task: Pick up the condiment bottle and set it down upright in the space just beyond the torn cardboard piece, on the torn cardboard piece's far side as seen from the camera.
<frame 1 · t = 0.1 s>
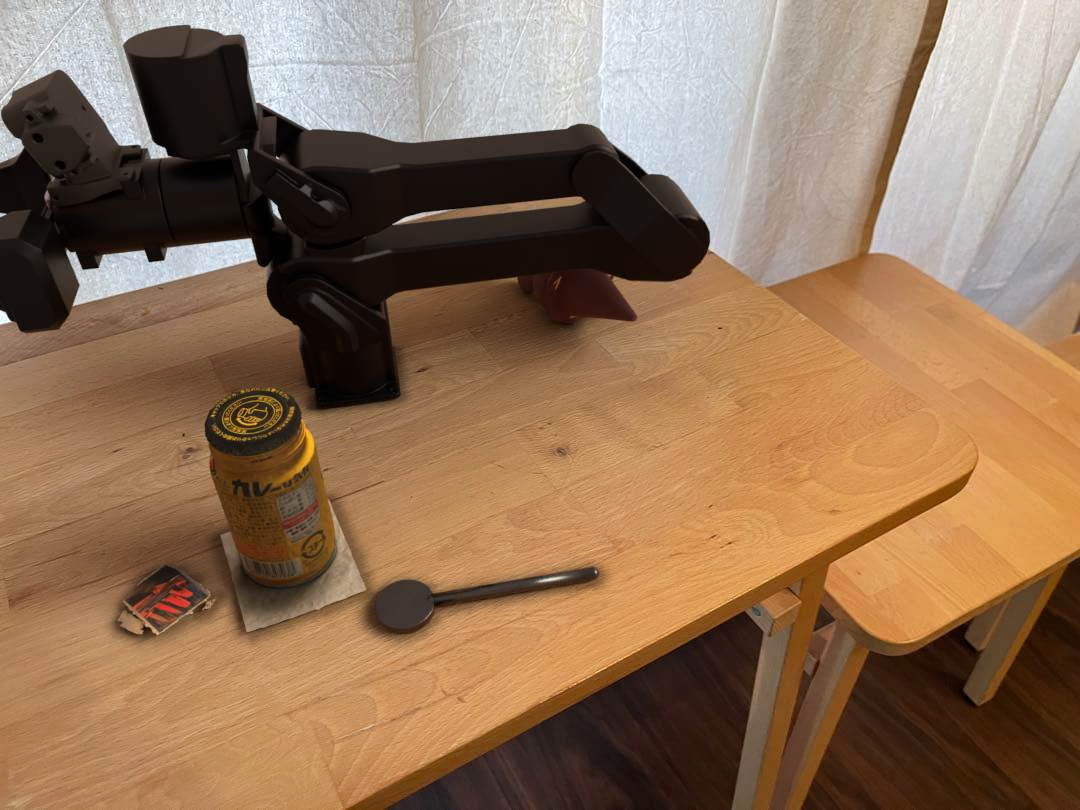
condiment: (292, 565, 56), on the table
torn cardboard piece: (163, 606, 54), on the table
steel spoon: (490, 594, 54), on the table
brown gnome figurine: (574, 317, 77), on the table
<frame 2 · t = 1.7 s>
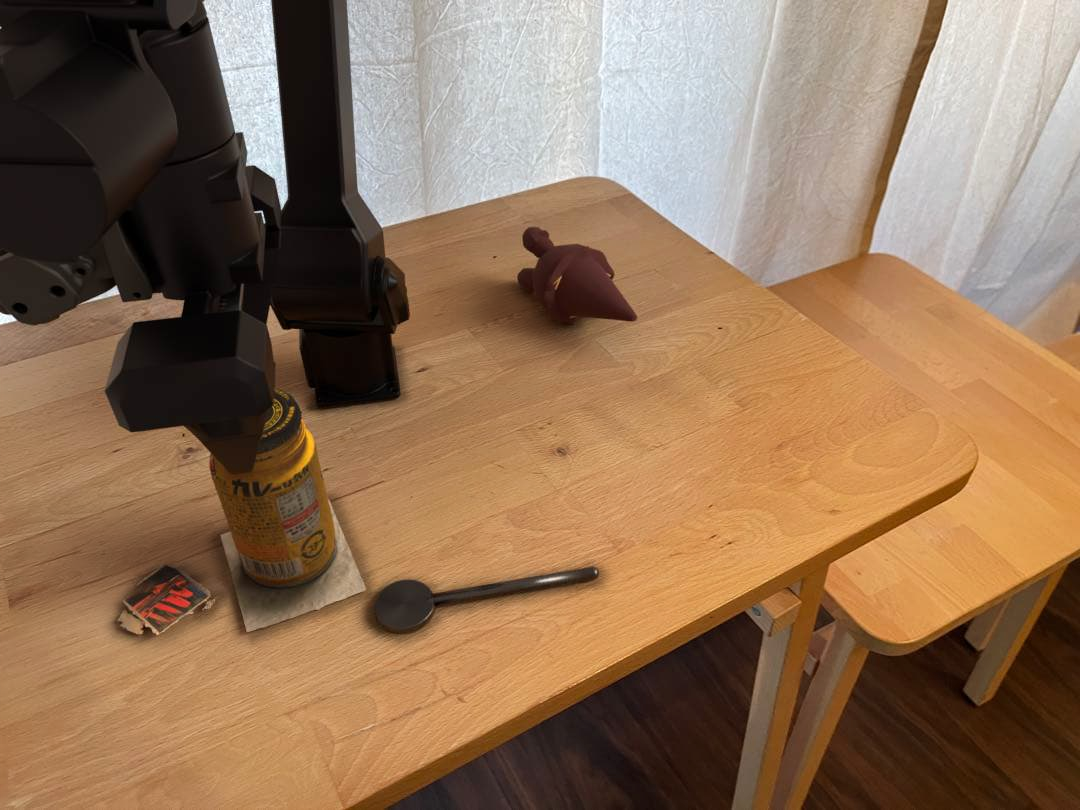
hand: (246, 412, 48), 13 cm above the table, tool pointing down, fingers open, 9 cm apart
nothing on the table moved.
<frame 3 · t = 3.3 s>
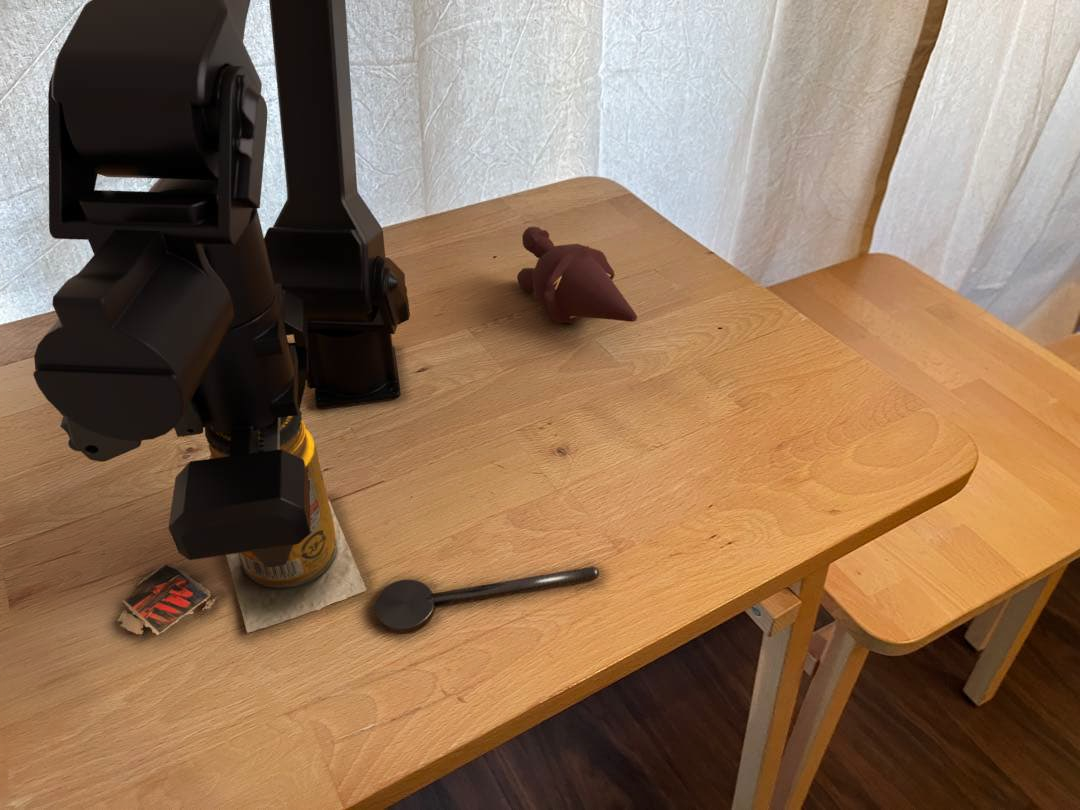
hand: (277, 510, 54), 4 cm above the table, tool pointing down, fingers closed on condiment, 8 cm apart
condiment: (292, 566, 56), on the table, touching gripper
everything else where it was.
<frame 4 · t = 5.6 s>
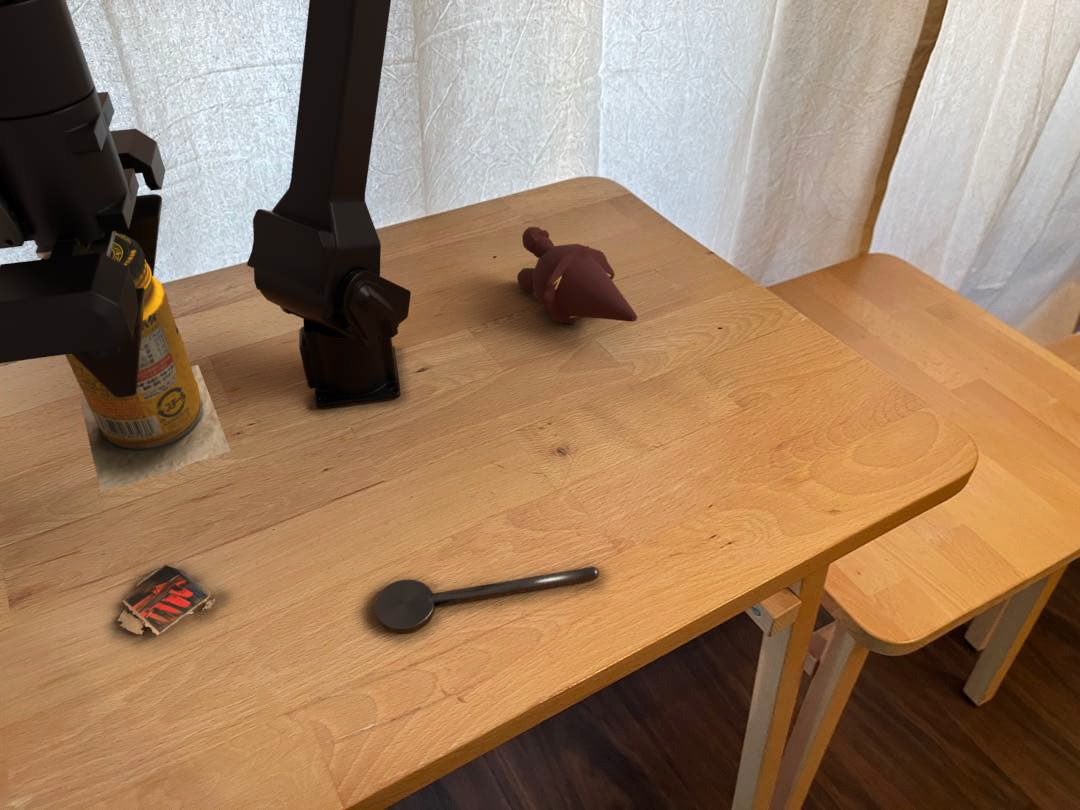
hand: (132, 360, 51), 13 cm above the table, tool pointing down, fingers closed on condiment, 6 cm apart
condiment: (154, 428, 54), point 8 cm above the table, touching gripper
everything else where it was.
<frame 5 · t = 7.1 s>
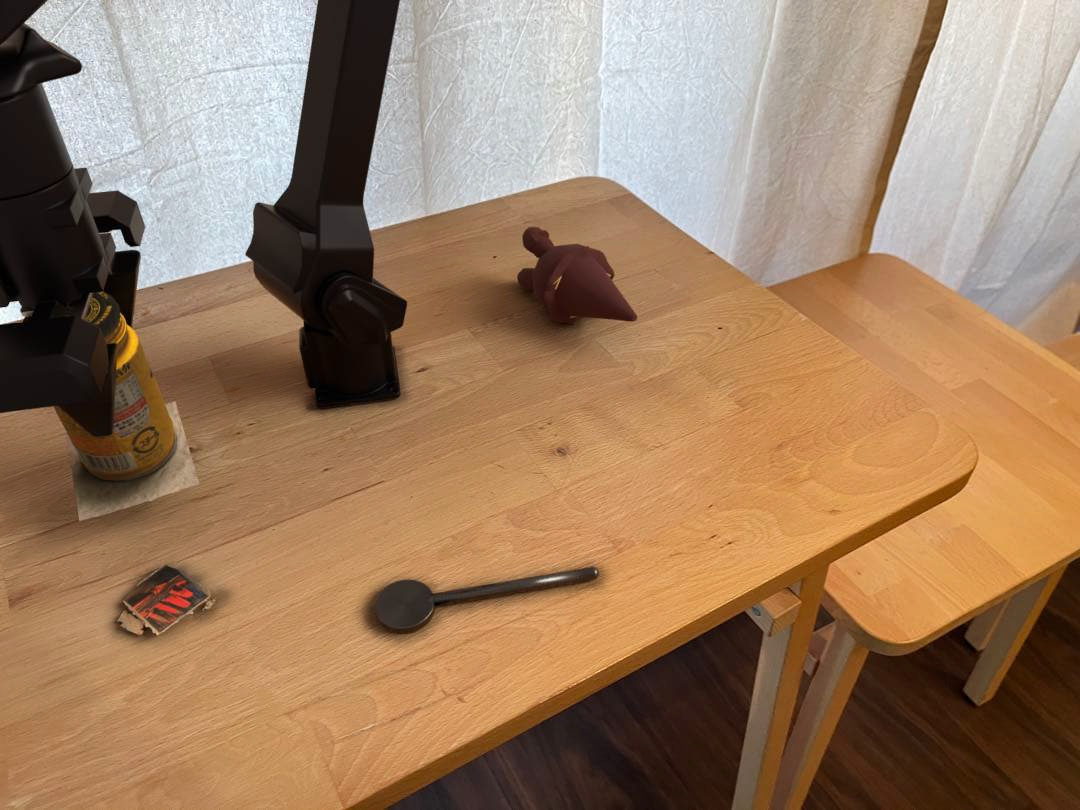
hand: (111, 401, 56), 8 cm above the table, tool pointing down, fingers closed on condiment, 6 cm apart
condiment: (132, 461, 59), point 3 cm above the table, touching gripper
everything else where it was.
when the fingers open (5 cm above the table, at t = 8.2 s): condiment stays where it is, on the table.
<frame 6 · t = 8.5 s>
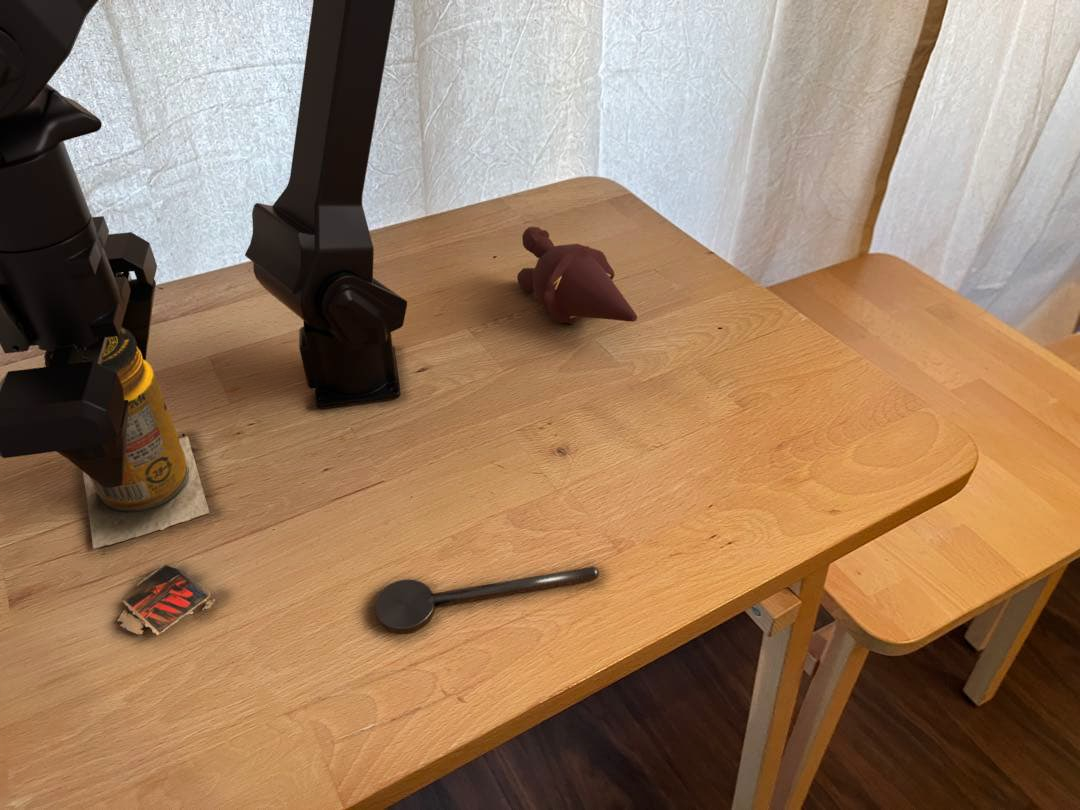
hand: (124, 436, 58), 5 cm above the table, tool pointing down, fingers open, 9 cm apart
condiment: (145, 493, 61), on the table
everything else where it was.
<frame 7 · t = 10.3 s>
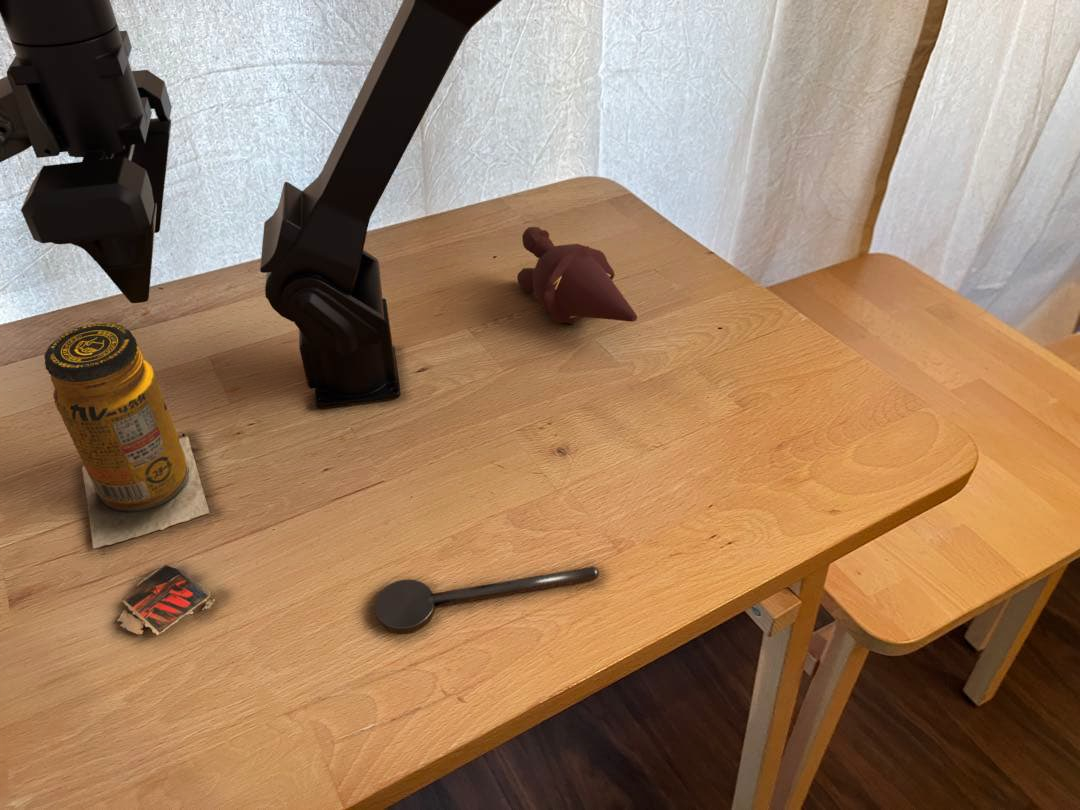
hand: (146, 264, 60), 12 cm above the table, tool pointing down, fingers open, 9 cm apart
nothing on the table moved.
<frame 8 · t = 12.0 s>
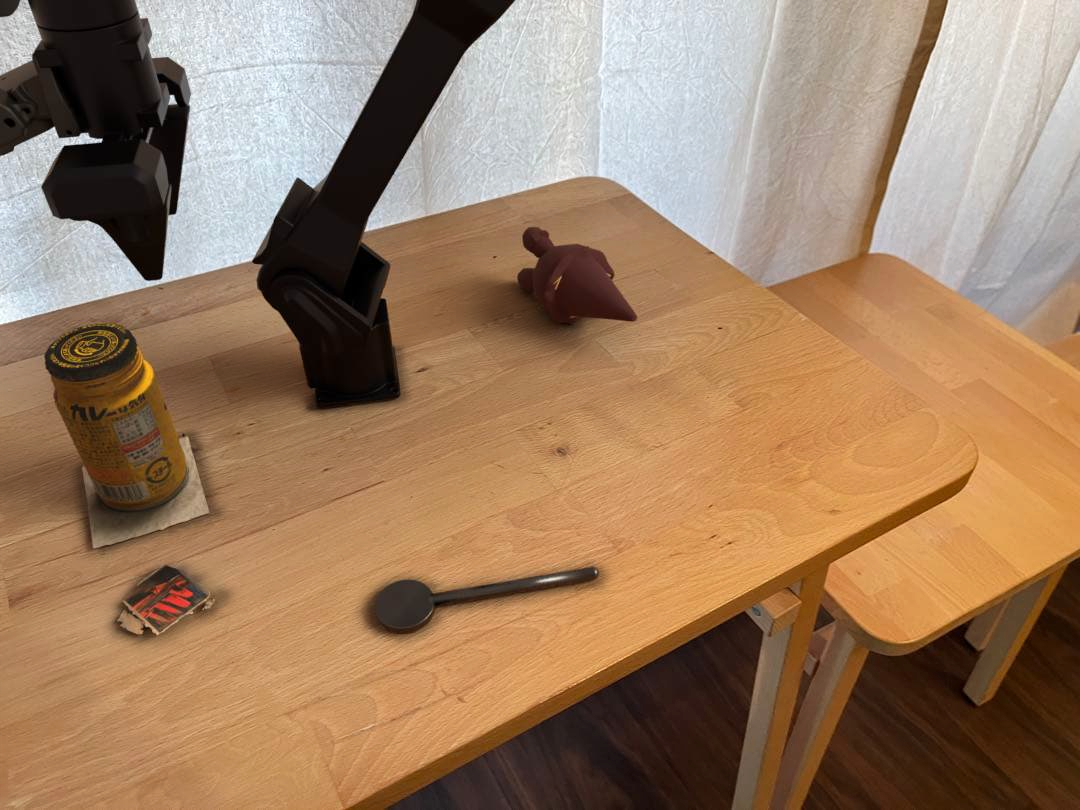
hand: (162, 244, 63), 12 cm above the table, tool pointing down, fingers open, 9 cm apart
nothing on the table moved.
at the end: condiment inside the target area on the table beside the torn cardboard piece (1.0 cm from its centre), on the table; condiment tilted 0°; torn cardboard piece moved 0.0 cm from its start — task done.
